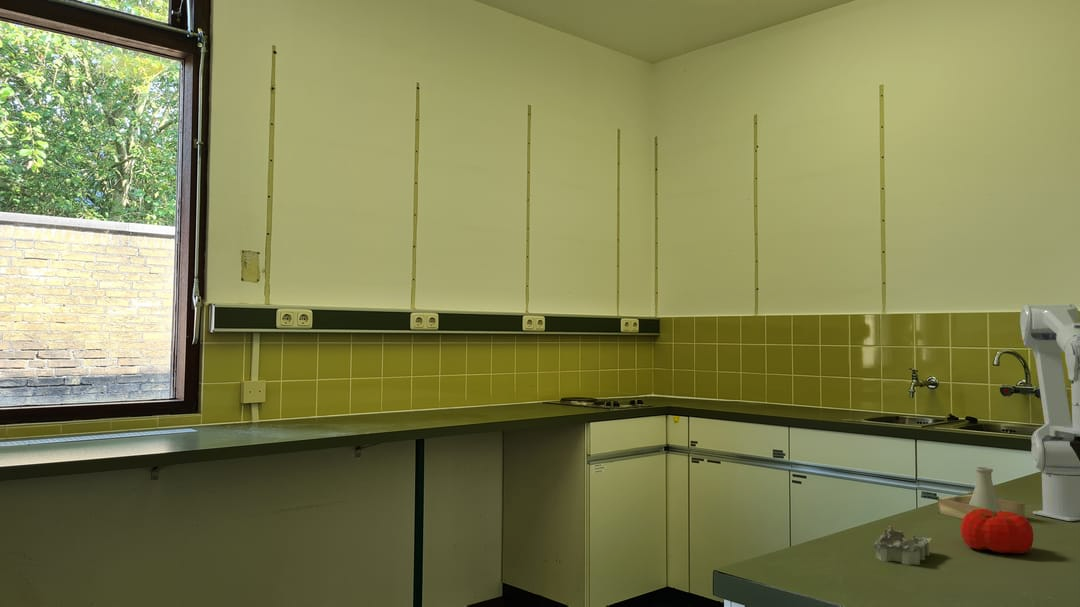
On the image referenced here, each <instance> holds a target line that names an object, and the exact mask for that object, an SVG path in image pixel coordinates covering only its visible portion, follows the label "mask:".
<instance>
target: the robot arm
mask: <svg viewBox="0 0 1080 607" xmlns="http://www.w3.org/2000/svg"><path fill="white" fill-rule="evenodd" d="M1019 321H1020V322H1019V324H1020V331H1021V333H1020V334H1021V338H1022V341H1023V345H1024V347H1026V348H1028V349H1030V350H1031V351H1032V353H1033V356H1034V360H1035V366H1036V374H1037V378H1038V386H1039V394H1040V399H1041V406H1042V415H1043V421H1044V424H1043V425H1042V426H1040V427H1039V428H1037V429H1036V430H1034V432H1033V433H1032V436H1031V438H1030V439H1031V449H1030V450H1031V461H1032V464H1033V465H1034V467H1035V468H1036V469H1037V470H1039V471H1040V472H1041V491H1042V492H1041V494H1042V496H1041V497H1042V498H1041V499H1042V510H1034V511H1032V514H1033V515H1038V516H1044V517H1048V518H1053V519H1057V520H1060V521H1067V522H1074V521H1075V522H1077V521H1080V312H1079V309H1078V307H1077V306H1076V305H1074V304H1073V303H1069V304H1050V305H1049V304H1046V305H1044V304H1040V305H1039V304H1038V305H1037V304H1035V305H1034V304H1032V305H1030V304H1024V306H1023V307H1022V308H1021V309H1020V315H1019ZM1062 352H1063V353H1064V359H1065V360H1064V361H1065V365H1066V368H1067V377H1068V380H1069V381H1070V389H1071V390H1070V393H1071V411H1070V404H1069V400H1068V392H1067V384H1066V381H1065V374H1064V366H1063V362H1062Z"/></svg>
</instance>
